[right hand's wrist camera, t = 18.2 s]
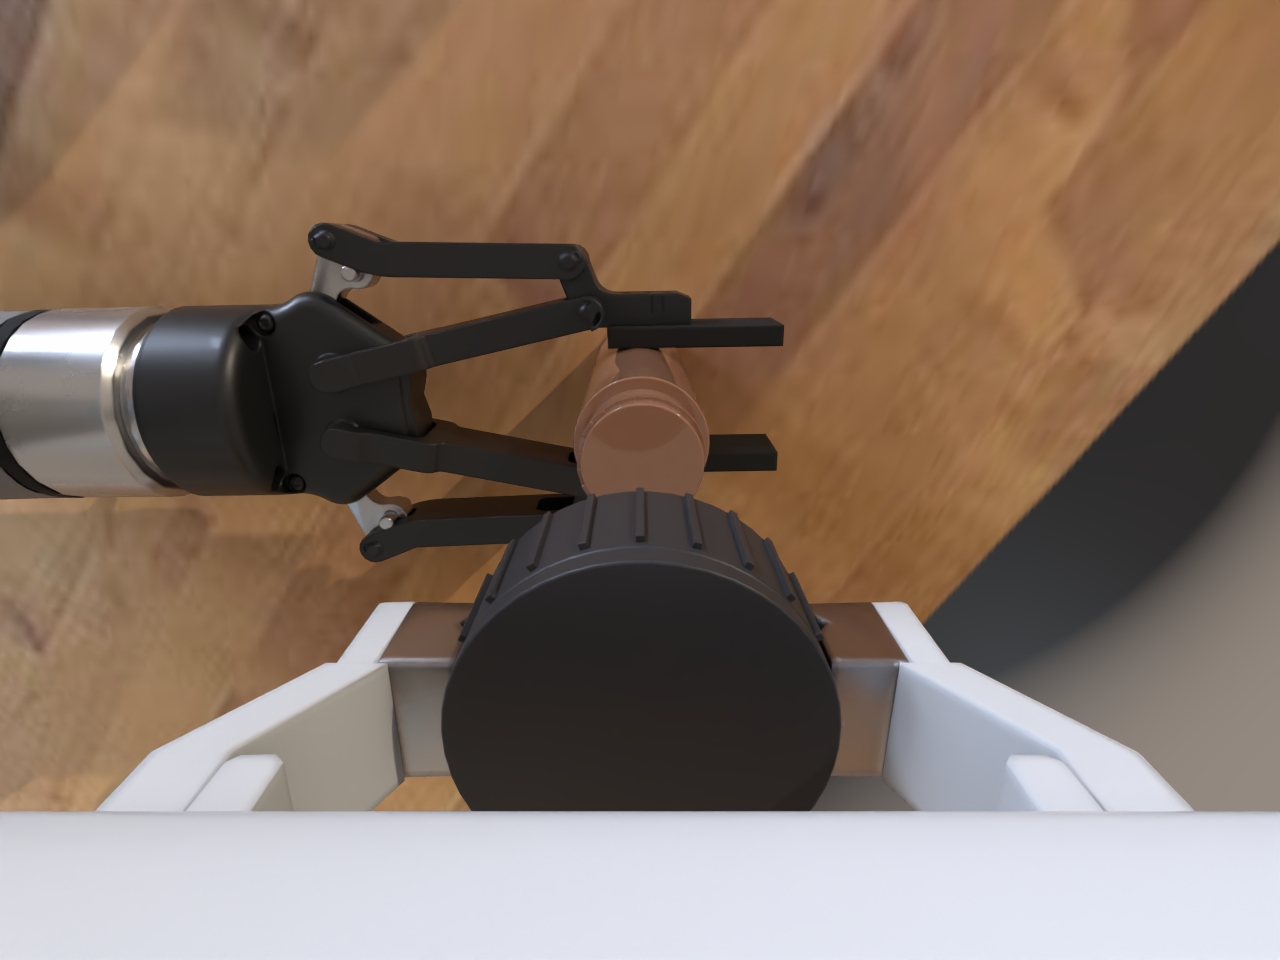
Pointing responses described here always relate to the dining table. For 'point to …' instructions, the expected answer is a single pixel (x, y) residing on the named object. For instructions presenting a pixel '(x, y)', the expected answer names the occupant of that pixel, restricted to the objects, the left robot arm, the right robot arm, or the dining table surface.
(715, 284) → the dining table surface
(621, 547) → the lid
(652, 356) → the brown tall cylinder
